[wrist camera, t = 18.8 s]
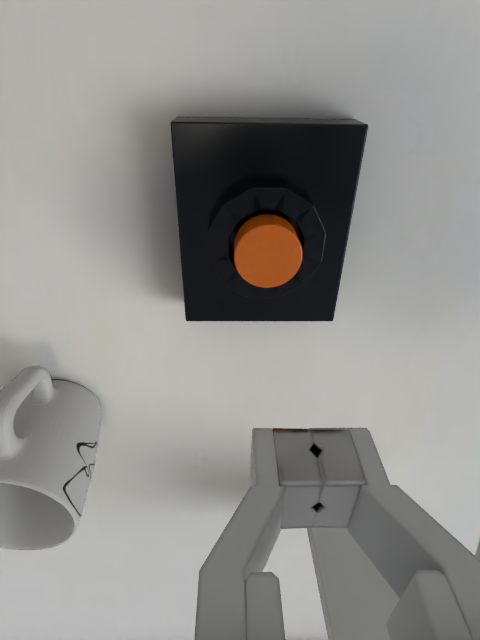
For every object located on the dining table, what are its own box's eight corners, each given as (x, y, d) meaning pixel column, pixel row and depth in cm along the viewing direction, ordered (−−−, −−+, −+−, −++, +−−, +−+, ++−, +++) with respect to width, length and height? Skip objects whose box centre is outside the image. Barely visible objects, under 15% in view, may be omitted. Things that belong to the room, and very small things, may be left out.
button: (234, 213, 20) (234, 224, 19) (301, 213, 20) (306, 224, 19) (233, 273, 22) (233, 288, 21) (294, 274, 22) (299, 288, 21)
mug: (-13, 338, 29) (-112, 447, 21) (98, 338, 29) (45, 446, 21) (31, 437, 35) (-31, 552, 27) (122, 436, 35) (89, 550, 27)
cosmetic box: (302, 509, 43) (334, 700, 30) (299, 474, 39) (333, 675, 26) (377, 501, 42) (442, 693, 29) (381, 465, 39) (457, 666, 26)
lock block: (175, 116, 21) (165, 125, 18) (356, 119, 21) (379, 128, 18) (189, 303, 28) (183, 335, 24) (325, 303, 28) (338, 335, 24)
